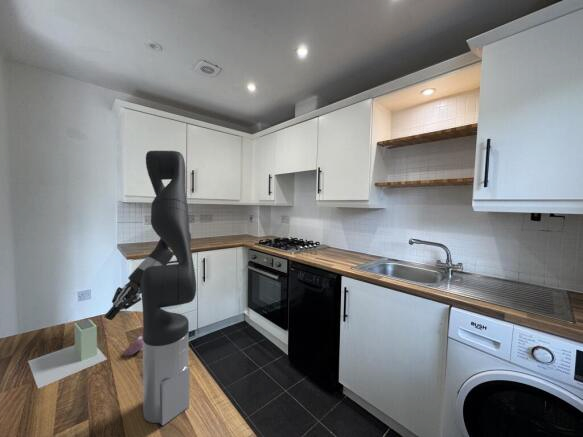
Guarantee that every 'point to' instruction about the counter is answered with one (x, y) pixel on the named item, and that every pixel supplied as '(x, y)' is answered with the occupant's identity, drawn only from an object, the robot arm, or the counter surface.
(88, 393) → the counter surface
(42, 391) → the counter surface
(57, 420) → the counter surface
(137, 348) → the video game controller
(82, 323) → the block
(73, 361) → the mat
